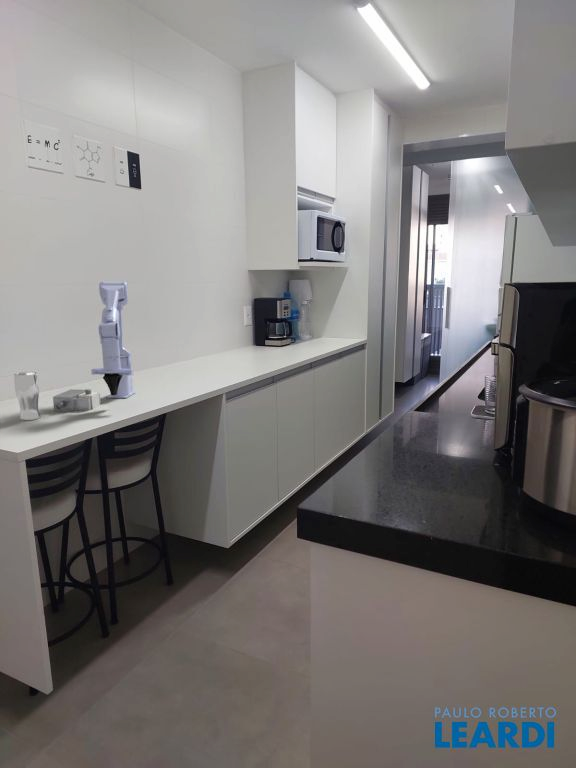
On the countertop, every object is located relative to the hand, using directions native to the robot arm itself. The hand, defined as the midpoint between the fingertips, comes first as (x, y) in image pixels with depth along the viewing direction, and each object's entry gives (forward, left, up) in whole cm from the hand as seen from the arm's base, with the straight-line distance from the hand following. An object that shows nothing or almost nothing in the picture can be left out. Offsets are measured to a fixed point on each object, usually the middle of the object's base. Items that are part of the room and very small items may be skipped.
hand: (114, 394), depth 179 cm
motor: (+2, -13, -5) cm, 14 cm away
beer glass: (+16, -22, -5) cm, 28 cm away
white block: (0, -9, -5) cm, 11 cm away
